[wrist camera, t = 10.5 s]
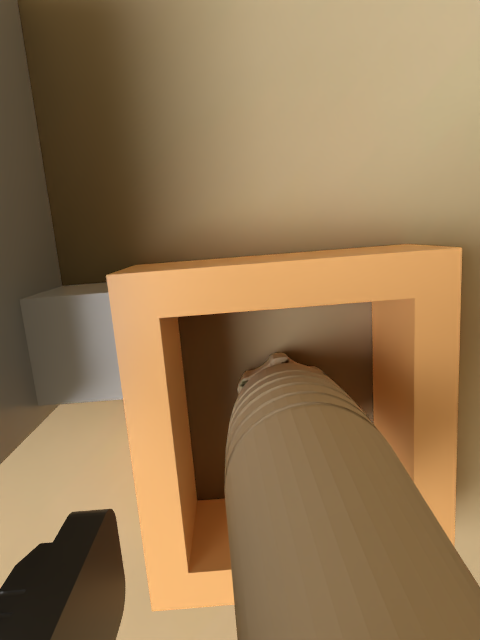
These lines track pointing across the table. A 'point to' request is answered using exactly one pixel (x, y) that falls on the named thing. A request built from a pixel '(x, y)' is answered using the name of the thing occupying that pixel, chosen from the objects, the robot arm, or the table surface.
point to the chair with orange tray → (166, 357)
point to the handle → (332, 522)
